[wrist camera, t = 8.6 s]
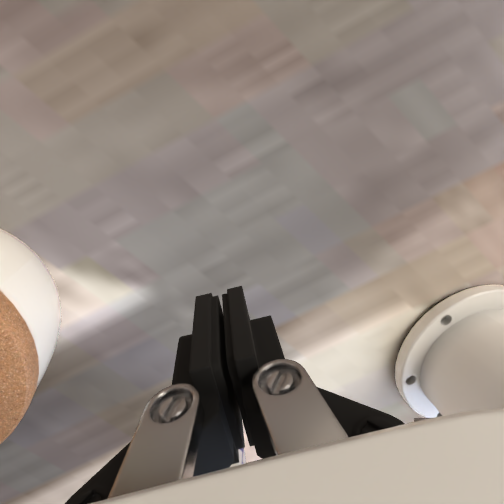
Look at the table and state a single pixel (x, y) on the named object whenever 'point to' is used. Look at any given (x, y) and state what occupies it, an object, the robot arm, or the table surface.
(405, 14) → the table surface
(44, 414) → the table surface
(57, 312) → the trinket box
